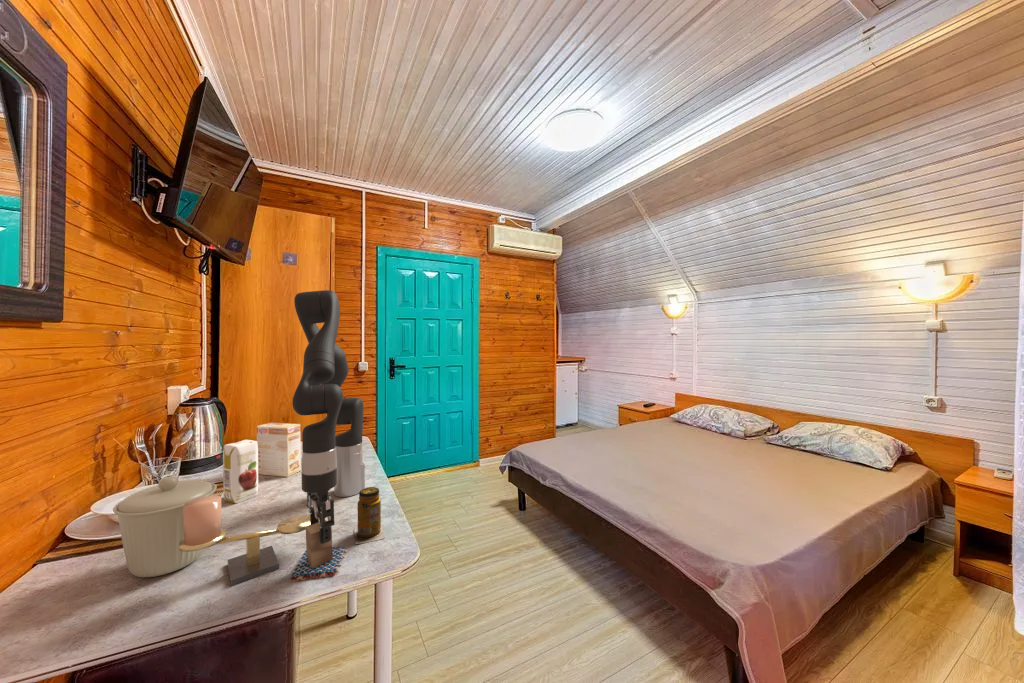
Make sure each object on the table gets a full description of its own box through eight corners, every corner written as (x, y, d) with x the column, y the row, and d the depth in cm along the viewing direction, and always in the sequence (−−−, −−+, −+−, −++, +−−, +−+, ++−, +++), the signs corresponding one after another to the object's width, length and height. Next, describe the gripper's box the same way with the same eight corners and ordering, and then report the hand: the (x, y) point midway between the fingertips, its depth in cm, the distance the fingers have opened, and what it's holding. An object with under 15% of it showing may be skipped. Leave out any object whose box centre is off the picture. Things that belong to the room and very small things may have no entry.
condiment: (381, 524, 107) (380, 483, 106) (384, 538, 99) (384, 494, 99) (354, 530, 103) (353, 488, 103) (355, 545, 96) (355, 500, 96)
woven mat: (287, 585, 81) (286, 576, 81) (303, 557, 91) (303, 549, 91) (337, 579, 83) (337, 570, 83) (347, 552, 94) (347, 544, 94)
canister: (157, 594, 78) (156, 495, 77) (90, 584, 81) (89, 489, 81) (235, 546, 95) (234, 466, 95) (178, 539, 99) (177, 462, 98)
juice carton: (220, 501, 121) (219, 444, 121) (247, 491, 129) (246, 438, 129) (234, 505, 119) (234, 447, 118) (261, 494, 127) (261, 440, 126)
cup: (220, 527, 85) (220, 493, 85) (222, 538, 80) (222, 502, 80) (183, 537, 81) (183, 501, 81) (183, 549, 76) (183, 511, 76)
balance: (308, 538, 99) (308, 500, 99) (318, 554, 92) (318, 513, 92) (179, 580, 82) (179, 535, 82) (178, 604, 74) (178, 554, 74)
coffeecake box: (301, 471, 149) (301, 423, 149) (287, 477, 142) (286, 427, 142) (271, 468, 153) (271, 421, 152) (256, 474, 146) (255, 425, 146)
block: (327, 551, 90) (325, 519, 90) (332, 559, 87) (331, 526, 87) (306, 559, 87) (305, 526, 87) (311, 568, 84) (310, 534, 84)
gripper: (345, 472, 84) (346, 541, 85) (327, 456, 95) (328, 518, 95) (309, 480, 79) (310, 554, 80) (294, 463, 90) (295, 528, 90)
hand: (320, 534), depth 88 cm, fingers open, 8 cm apart
